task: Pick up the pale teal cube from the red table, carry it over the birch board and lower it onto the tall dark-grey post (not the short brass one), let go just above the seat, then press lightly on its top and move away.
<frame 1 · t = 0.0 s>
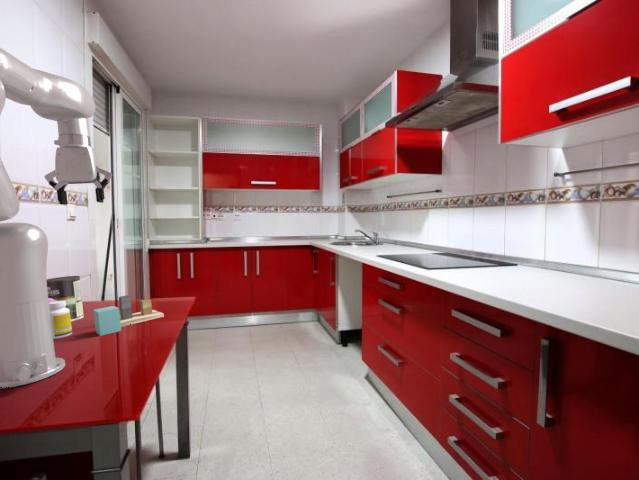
hand: (82, 203, 104), 37 cm above the table, tool pointing down, fingers open, 9 cm apart
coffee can: (66, 320, 120), on the table
cupcake: (45, 331, 108), on the table
pale teal cube: (108, 331, 103), on the table
post stand: (137, 319, 115), on the table
supplement bottle: (60, 337, 101), on the table
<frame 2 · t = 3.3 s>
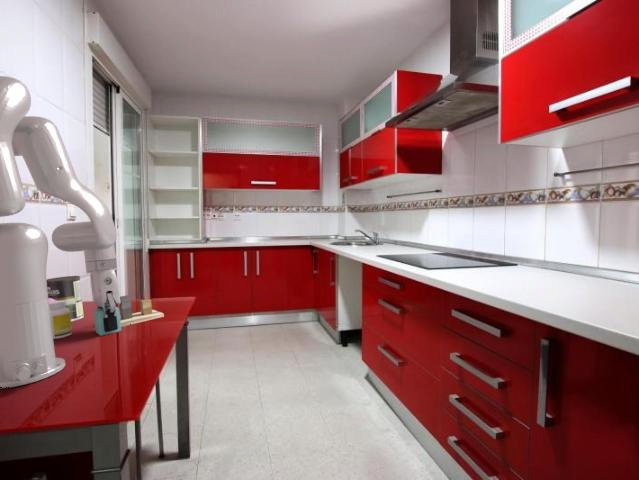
hand: (108, 328, 103), 1 cm above the table, tool pointing down, fingers closed on pale teal cube, 5 cm apart
pale teal cube: (108, 331, 103), on the table, touching gripper
everything else where it was.
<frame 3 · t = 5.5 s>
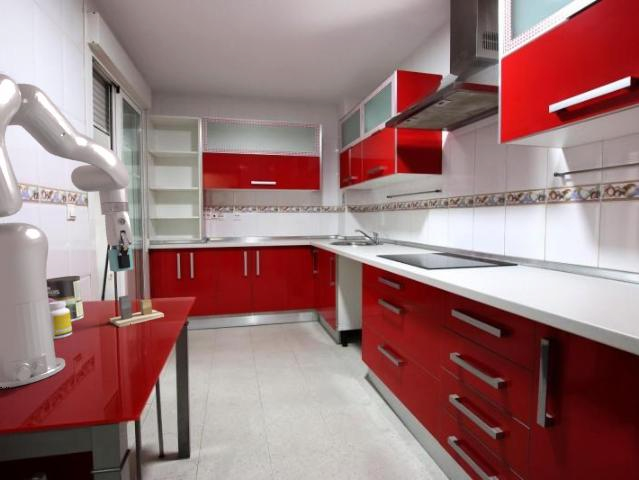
hand: (121, 267, 112), 17 cm above the table, tool pointing down, fingers closed on pale teal cube, 5 cm apart
pale teal cube: (122, 269, 112), point 16 cm above the table, touching gripper
everything else where it was.
when the fingers open (5 cm above the table, at t = 7.6 s): pale teal cube drops 2 cm, resting on post stand.
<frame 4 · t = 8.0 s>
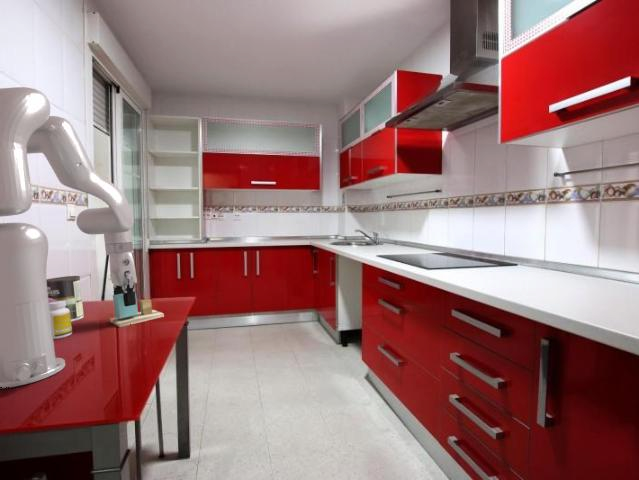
hand: (125, 303, 112), 6 cm above the table, tool pointing down, fingers open, 9 cm apart
pale teal cube: (126, 315, 112), point 2 cm above the table, touching post stand
everything else where it was.
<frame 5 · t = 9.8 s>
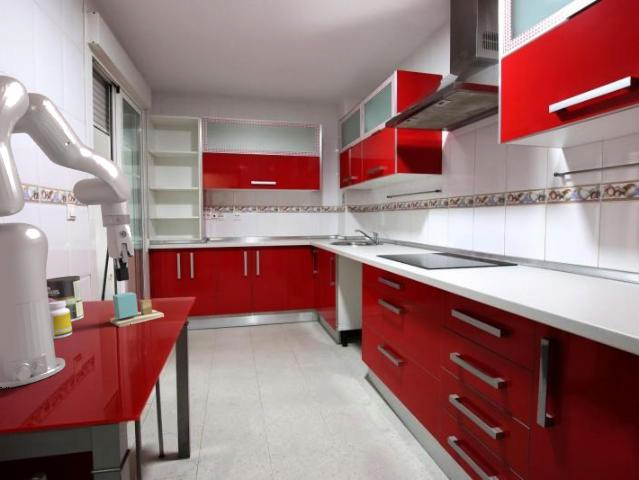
hand: (122, 280, 112), 13 cm above the table, tool pointing down, fingers closed
nothing on the table moved.
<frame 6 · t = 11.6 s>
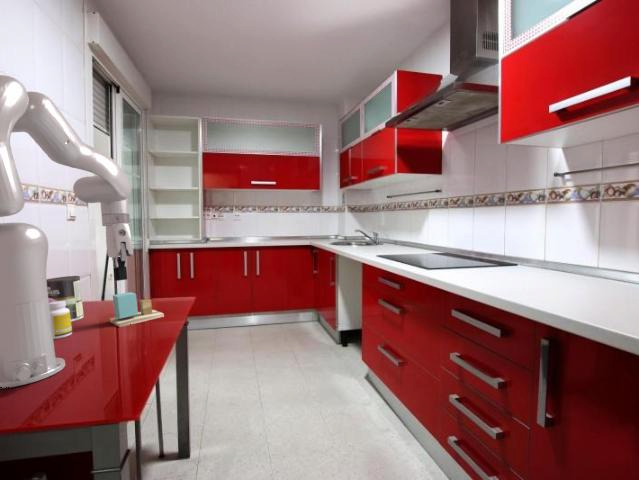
hand: (120, 279, 111), 13 cm above the table, tool pointing down, fingers closed
nothing on the table moved.
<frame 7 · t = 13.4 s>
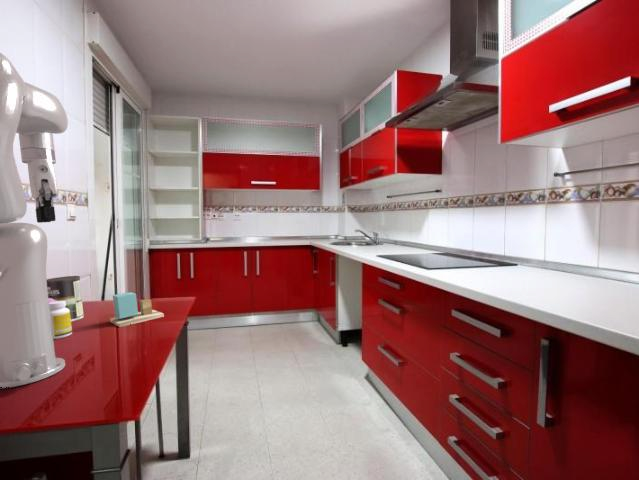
hand: (46, 221, 101), 33 cm above the table, tool pointing down, fingers open, 6 cm apart
nothing on the table moved.
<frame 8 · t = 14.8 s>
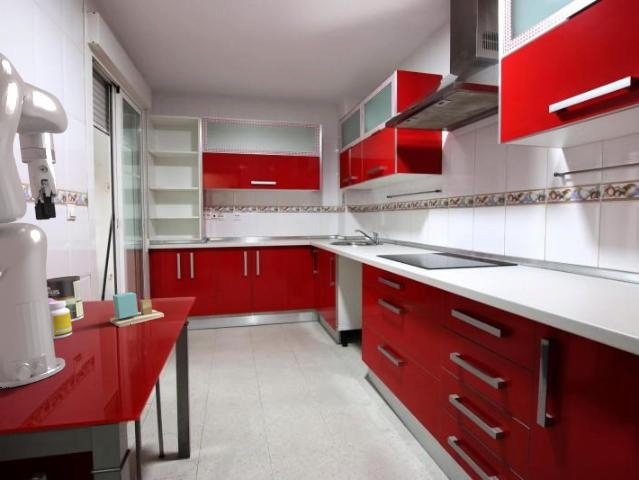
hand: (45, 218, 101), 33 cm above the table, tool pointing down, fingers open, 9 cm apart
nothing on the table moved.
at the end: pale teal cube 0.0 cm from the target spot, point 2.0 cm above the table; pale teal cube tilted 0°; the gripper is holding nothing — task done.
